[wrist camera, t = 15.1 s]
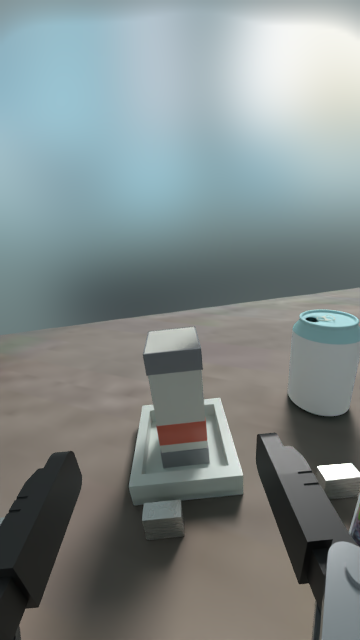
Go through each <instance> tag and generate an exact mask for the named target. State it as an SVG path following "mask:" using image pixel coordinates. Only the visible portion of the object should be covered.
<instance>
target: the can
mask: <svg viewBox="0 0 360 640" xmlns="http://www.w3.org/2000/svg"><path fill="white" fill-rule="evenodd" d="M358 323H359V319H358V318H357V317H355V316H354V315H351V314H349V313H345V312H341V311H335V310H309V311H305V312H303V313H301V314H300V319H299V320H298V321H297V322H296V323H295V324H294V326H293V330H292V343H291V355H290V367H289V379H288V395H289V397H290V399H291V400H292V401H293V402H294V403H295V404H296V405H297V406H299V407H300V408H302V409H304V410H306V411H308V412H310V413H313V414H316V415H321V416H338V415H341V414H344V413H345V412H347V411H348V409H349V407H350V402H351V397H352V392H353V387H354V383H355V378H356V373H357V368H358V363H359V358H360V327H359V325H358Z"/></svg>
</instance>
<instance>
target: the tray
mask: <svg viewBox="0 0 360 640" xmlns="http://www.w3.org/2000/svg"><path fill="white" fill-rule="evenodd" d="M204 410H205V419H206V428H207V442H208V448H209V460H210V463H208V464H199V465H189V466H180V467H171V468H163V464H162V459H161V446H160V444H159V438H158V433H157V427H156V426H157V423H156V418H155V412H154V406H153V405H146V406H143V407H142V413H141V419H140V424H139V430H138V436H137V442H136V447H135V453H134V459H133V464H132V470H131V476H130V482H129V491H130V494H131V498H132V502H133V506H134V505H144V503H151V502H160V501H170V500H180V499H181V501H183V500H193V499H203V498H212V497H222V496H232V495H242V494H243V473H242V470H241V466H240V463H239V460H238V456H237V453H236V449H235V446H234V443H233V439H232V436H231V433H230V429H229V426H228V423H227V419H226V416H225V413H224V409H223V406H222V403H221V399H220V398H213V399H204Z"/></svg>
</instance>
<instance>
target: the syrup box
mask: <svg viewBox="0 0 360 640" xmlns="http://www.w3.org/2000/svg"><path fill="white" fill-rule="evenodd" d="M349 534H350V535H351V537H352V538H353V539H354V541H355V542H356V543H357V544H358V545H359V546H360V494H359V498H358V501H357V505H356V509H355V512H354V516H353V519H352V522H351V526H350V530H349Z"/></svg>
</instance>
